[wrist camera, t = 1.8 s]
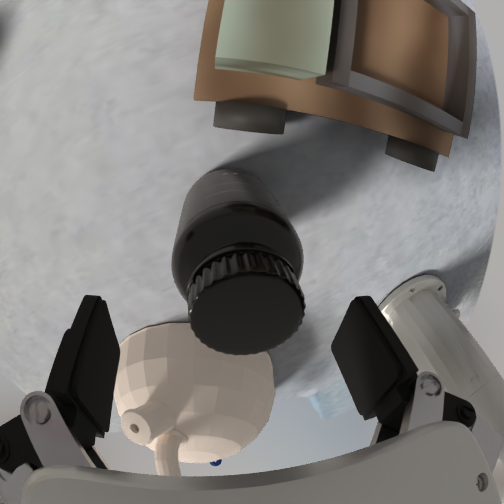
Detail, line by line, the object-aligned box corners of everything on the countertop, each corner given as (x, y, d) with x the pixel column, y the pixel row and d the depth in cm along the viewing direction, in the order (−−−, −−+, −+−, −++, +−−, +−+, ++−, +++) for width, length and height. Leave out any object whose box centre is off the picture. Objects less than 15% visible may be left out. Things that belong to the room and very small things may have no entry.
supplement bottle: (266, 248, 23) (306, 366, 13) (184, 246, 22) (168, 370, 12) (278, 169, 20) (350, 249, 9) (185, 163, 18) (151, 243, 8)
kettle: (234, 291, 25) (266, 495, 10) (289, 388, 36) (319, 499, 21) (81, 343, 27) (47, 479, 11) (170, 416, 37) (172, 515, 22)
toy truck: (438, -3, 11) (489, -10, 5) (421, 164, 21) (476, 191, 14) (231, -77, 8) (241, -124, 1) (194, 122, 17) (183, 132, 11)
